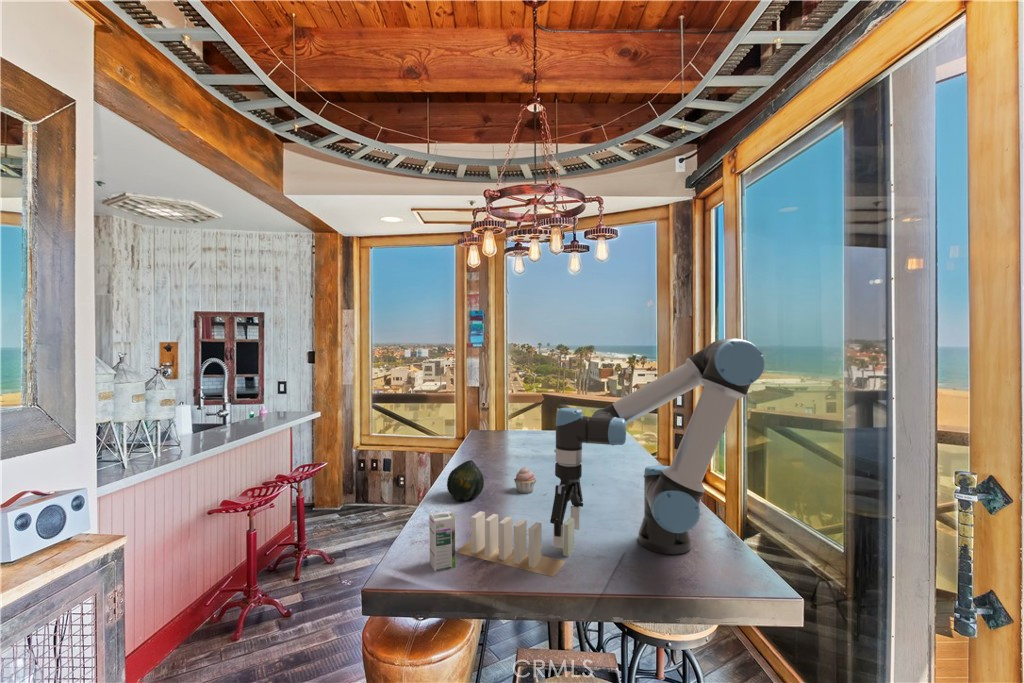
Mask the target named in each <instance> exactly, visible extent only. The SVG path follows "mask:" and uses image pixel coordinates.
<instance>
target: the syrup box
mask: <svg viewBox="0 0 1024 683" xmlns="http://www.w3.org/2000/svg"><path fill="white" fill-rule="evenodd" d="M428 517H429V519H428V521H429V522H428V523H429V524H428V525H429V563H430V566H431V567H432V569H433V571H434V572H440V571H444V570H445V571H446V570H450V569H454V568H456V519H455V518H456V517H455V515H454V514H453V513H452V512H451V511H450V510H447V511H442V512H441V511H440V512H436V513H430V514H429V516H428Z"/></svg>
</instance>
